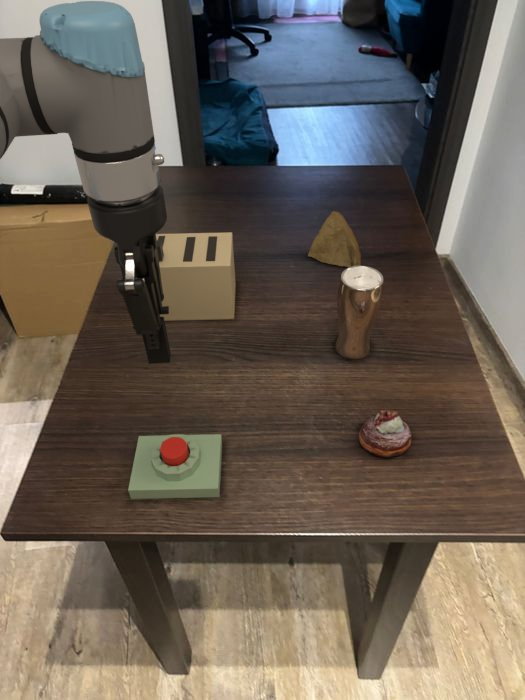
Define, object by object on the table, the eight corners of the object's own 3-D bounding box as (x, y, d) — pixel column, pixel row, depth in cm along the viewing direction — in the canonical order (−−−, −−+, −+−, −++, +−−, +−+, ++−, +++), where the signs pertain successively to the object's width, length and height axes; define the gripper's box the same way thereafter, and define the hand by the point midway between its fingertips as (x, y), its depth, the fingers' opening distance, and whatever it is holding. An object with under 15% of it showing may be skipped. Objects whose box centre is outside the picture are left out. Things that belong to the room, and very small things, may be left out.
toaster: (148, 321, 99) (137, 267, 90) (156, 286, 107) (146, 233, 98) (234, 319, 98) (230, 265, 90) (235, 284, 107) (232, 231, 98)
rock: (376, 255, 109) (351, 228, 114) (361, 235, 102) (335, 206, 108) (336, 290, 111) (313, 261, 117) (318, 272, 104) (295, 242, 110)
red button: (160, 466, 71) (158, 458, 70) (163, 444, 73) (161, 436, 72) (187, 465, 71) (185, 458, 70) (189, 444, 73) (188, 436, 72)
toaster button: (148, 261, 91) (145, 246, 89) (150, 255, 93) (147, 240, 91) (162, 261, 91) (160, 246, 89) (164, 254, 93) (161, 240, 91)
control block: (131, 499, 71) (125, 482, 69) (141, 445, 78) (136, 428, 75) (219, 497, 71) (217, 480, 68) (222, 443, 78) (220, 426, 75)
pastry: (393, 413, 81) (399, 391, 78) (422, 450, 76) (429, 428, 73) (348, 429, 79) (351, 407, 76) (374, 468, 74) (379, 447, 71)
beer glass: (329, 358, 90) (336, 287, 80) (335, 331, 95) (342, 262, 85) (370, 364, 89) (383, 293, 79) (374, 337, 94) (386, 267, 84)
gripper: (154, 221, 48) (185, 395, 64) (167, 160, 57) (191, 325, 73) (71, 224, 47) (123, 398, 64) (98, 162, 57) (137, 327, 73)
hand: (160, 359), depth 68 cm, fingers closed
